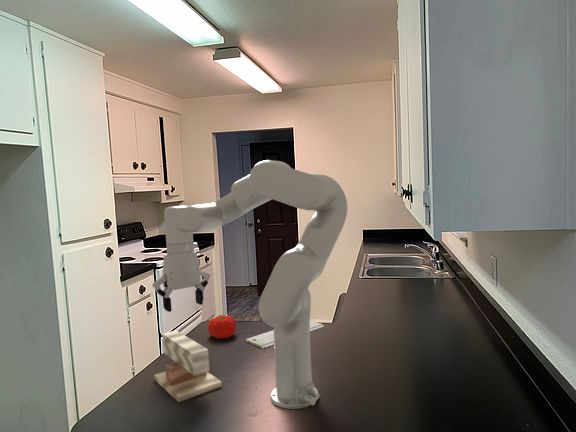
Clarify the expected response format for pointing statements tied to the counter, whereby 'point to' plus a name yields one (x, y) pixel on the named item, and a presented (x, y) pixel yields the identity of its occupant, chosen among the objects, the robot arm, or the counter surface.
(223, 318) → the tomato
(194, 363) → the birch bar
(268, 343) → the baseboard molding
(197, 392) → the ridge stand
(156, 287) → the robot arm
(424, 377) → the counter surface
